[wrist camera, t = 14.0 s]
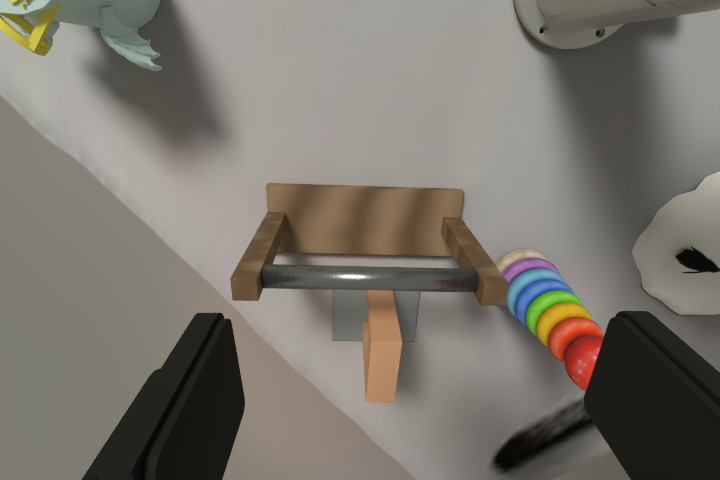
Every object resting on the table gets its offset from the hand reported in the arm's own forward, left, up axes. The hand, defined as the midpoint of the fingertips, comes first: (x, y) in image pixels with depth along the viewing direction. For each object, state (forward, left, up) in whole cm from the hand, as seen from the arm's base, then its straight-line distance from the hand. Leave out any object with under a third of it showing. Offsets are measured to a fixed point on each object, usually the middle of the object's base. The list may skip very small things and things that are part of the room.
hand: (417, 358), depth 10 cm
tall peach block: (-2, +22, -35) cm, 41 cm away
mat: (-2, +22, -35) cm, 41 cm away
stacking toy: (-20, +17, -35) cm, 44 cm away
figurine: (-44, +12, -36) cm, 58 cm away
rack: (0, +10, -35) cm, 36 cm away
